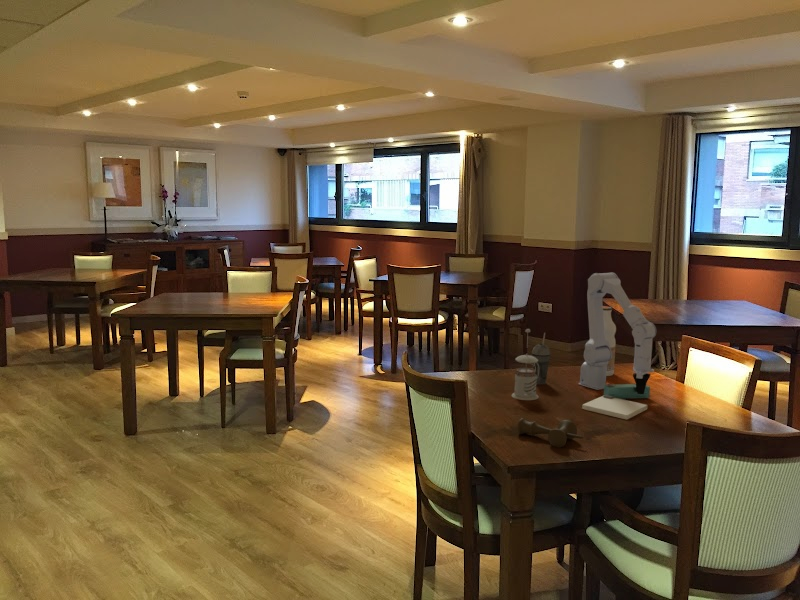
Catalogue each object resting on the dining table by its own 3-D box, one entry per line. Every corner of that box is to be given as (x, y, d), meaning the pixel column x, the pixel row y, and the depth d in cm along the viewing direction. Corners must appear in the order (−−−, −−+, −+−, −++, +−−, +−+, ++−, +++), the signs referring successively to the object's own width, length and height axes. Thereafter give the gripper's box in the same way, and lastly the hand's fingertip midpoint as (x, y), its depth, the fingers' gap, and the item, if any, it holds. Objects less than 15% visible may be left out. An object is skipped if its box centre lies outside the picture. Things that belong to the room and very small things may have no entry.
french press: (505, 395, 243) (508, 328, 239) (525, 390, 250) (528, 324, 247) (527, 401, 235) (530, 332, 232) (547, 396, 243) (550, 328, 239)
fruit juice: (612, 377, 270) (616, 309, 266) (588, 375, 274) (592, 307, 270) (614, 372, 279) (618, 306, 275) (591, 369, 282) (595, 304, 278)
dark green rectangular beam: (608, 399, 239) (609, 386, 238) (603, 396, 243) (604, 383, 242) (649, 398, 241) (650, 386, 240) (643, 395, 245) (644, 383, 244)
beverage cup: (526, 381, 263) (529, 331, 260) (543, 380, 265) (545, 330, 262) (536, 386, 256) (538, 335, 253) (552, 384, 258) (555, 334, 255)
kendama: (525, 430, 207) (588, 442, 196) (512, 440, 199) (577, 453, 188) (525, 412, 206) (589, 423, 195) (512, 421, 199) (578, 432, 187)
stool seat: (582, 408, 228) (582, 402, 228) (603, 399, 240) (604, 393, 239) (626, 419, 217) (627, 413, 217) (647, 409, 229) (647, 403, 229)
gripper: (652, 361, 228) (650, 400, 230) (656, 353, 241) (654, 390, 243) (631, 359, 231) (628, 397, 233) (636, 351, 244) (634, 387, 246)
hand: (640, 393), depth 238 cm, fingers closed
